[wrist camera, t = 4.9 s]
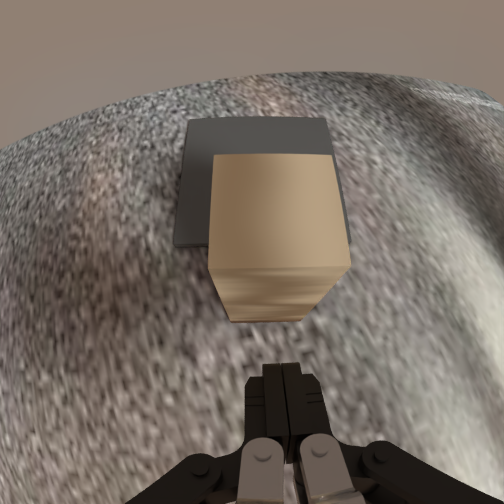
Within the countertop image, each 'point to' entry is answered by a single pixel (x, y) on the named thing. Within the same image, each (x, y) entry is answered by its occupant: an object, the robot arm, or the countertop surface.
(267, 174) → the maple block
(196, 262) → the countertop surface
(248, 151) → the mat
